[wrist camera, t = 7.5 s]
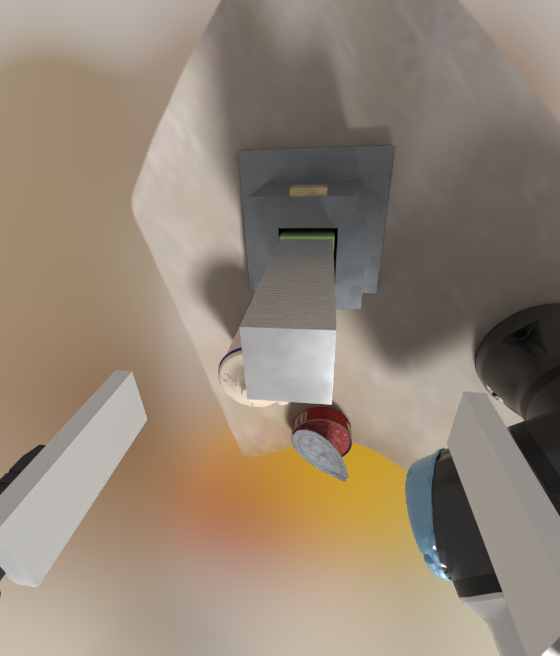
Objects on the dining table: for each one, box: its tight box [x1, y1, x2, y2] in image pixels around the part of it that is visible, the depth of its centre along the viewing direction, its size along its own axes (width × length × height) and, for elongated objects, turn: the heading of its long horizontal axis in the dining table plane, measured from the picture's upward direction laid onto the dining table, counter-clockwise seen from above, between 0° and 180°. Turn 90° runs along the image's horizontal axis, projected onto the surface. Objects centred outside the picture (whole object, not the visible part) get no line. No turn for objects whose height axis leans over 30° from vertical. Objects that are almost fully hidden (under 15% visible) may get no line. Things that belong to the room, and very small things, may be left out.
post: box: [239, 228, 336, 405], centre depth 24 cm, size 4×4×20 cm
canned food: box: [291, 407, 352, 481], centre depth 54 cm, size 11×10×10 cm
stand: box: [238, 145, 395, 310], centre depth 34 cm, size 16×16×12 cm
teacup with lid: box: [218, 329, 289, 407], centre depth 44 cm, size 12×9×12 cm
